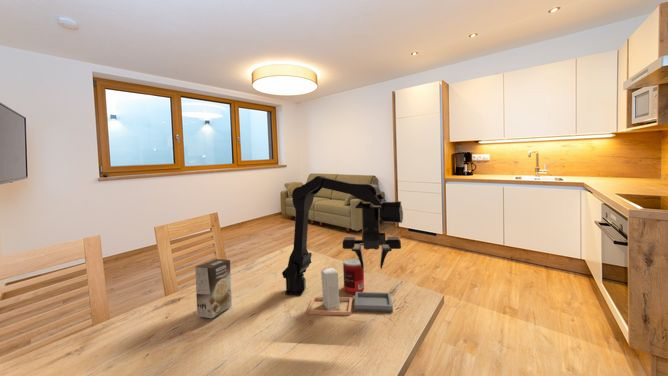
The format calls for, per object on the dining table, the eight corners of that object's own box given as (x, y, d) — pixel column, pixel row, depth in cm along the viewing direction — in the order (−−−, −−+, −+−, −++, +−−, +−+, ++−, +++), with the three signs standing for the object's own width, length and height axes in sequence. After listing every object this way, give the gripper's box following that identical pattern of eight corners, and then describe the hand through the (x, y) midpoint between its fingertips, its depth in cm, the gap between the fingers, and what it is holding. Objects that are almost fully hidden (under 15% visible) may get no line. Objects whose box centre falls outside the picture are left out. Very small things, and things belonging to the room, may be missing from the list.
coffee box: (212, 319, 85) (210, 268, 84) (196, 316, 87) (194, 266, 87) (232, 305, 94) (230, 259, 93) (217, 303, 96) (215, 258, 95)
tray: (354, 311, 87) (354, 304, 87) (355, 297, 97) (355, 291, 97) (392, 312, 86) (392, 305, 86) (390, 298, 96) (389, 292, 96)
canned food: (364, 285, 107) (363, 258, 107) (364, 294, 99) (363, 264, 99) (344, 285, 108) (343, 258, 108) (343, 294, 100) (342, 264, 100)
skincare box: (340, 309, 89) (339, 272, 88) (327, 312, 87) (326, 274, 87) (334, 301, 94) (333, 267, 94) (321, 303, 93) (320, 268, 93)
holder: (306, 314, 86) (306, 310, 86) (313, 299, 97) (313, 296, 97) (350, 315, 85) (350, 312, 85) (352, 300, 95) (352, 297, 95)
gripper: (340, 226, 84) (341, 276, 84) (402, 225, 81) (403, 277, 82) (343, 220, 95) (344, 265, 95) (398, 220, 92) (399, 265, 93)
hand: (371, 268), depth 91 cm, fingers open, 6 cm apart
